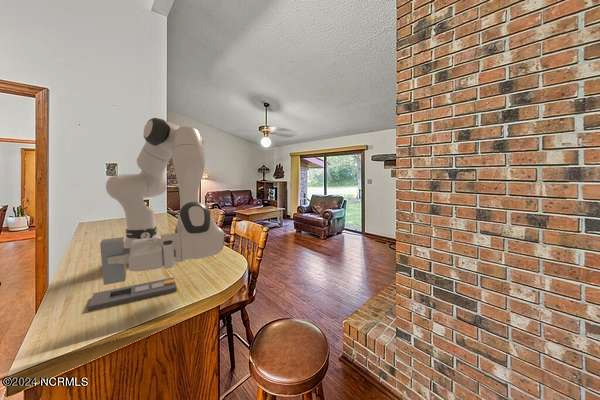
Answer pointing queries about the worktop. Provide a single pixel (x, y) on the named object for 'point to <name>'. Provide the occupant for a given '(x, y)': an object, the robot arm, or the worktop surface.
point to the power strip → (131, 293)
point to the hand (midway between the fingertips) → (109, 257)
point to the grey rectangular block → (112, 271)
